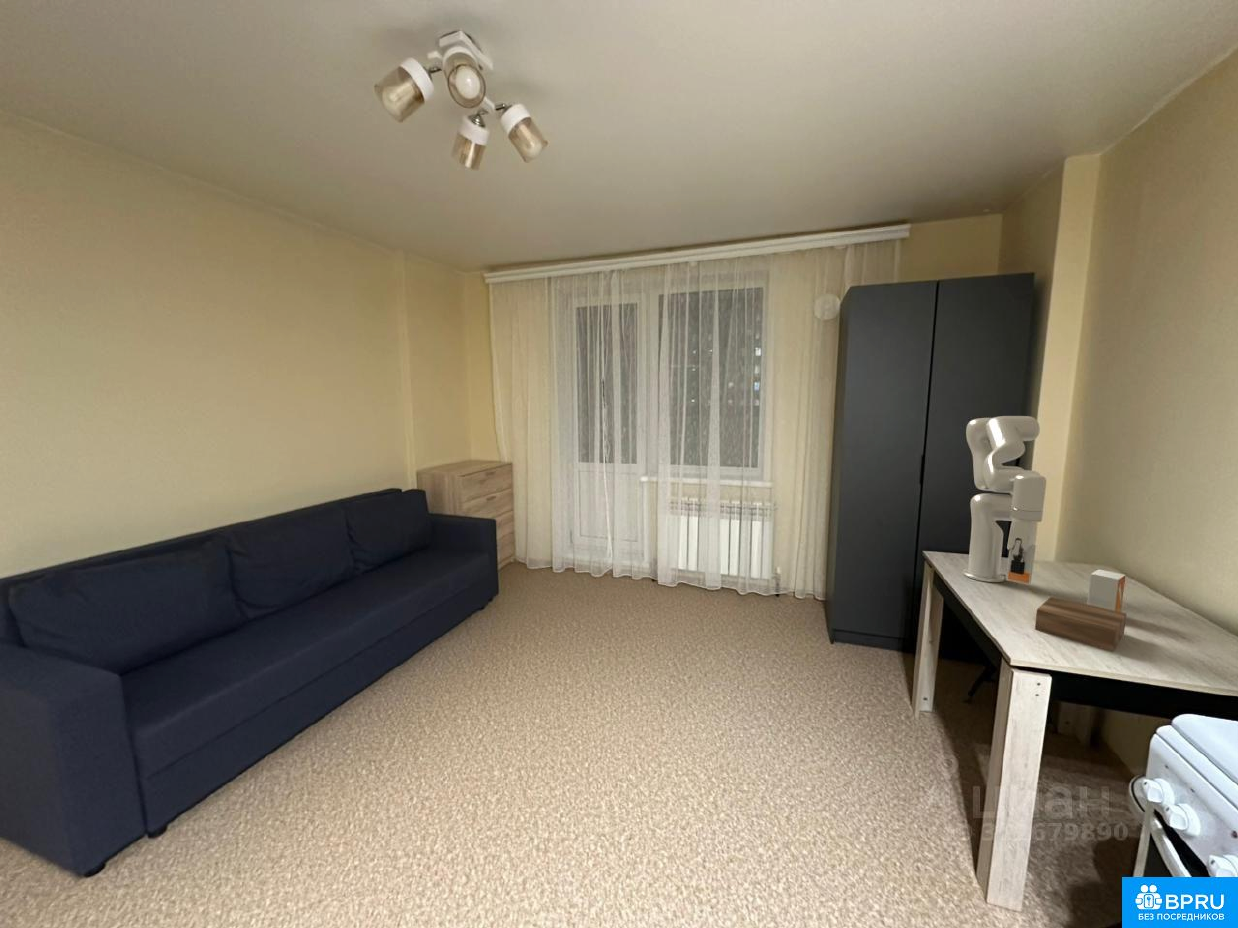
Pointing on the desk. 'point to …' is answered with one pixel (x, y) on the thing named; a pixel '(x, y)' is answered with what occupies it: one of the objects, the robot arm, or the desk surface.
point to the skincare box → (1027, 570)
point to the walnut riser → (1081, 622)
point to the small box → (1106, 590)
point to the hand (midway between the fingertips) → (1019, 570)
